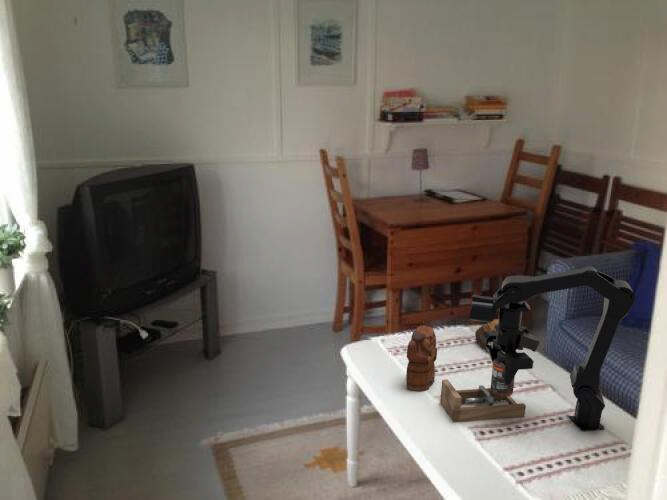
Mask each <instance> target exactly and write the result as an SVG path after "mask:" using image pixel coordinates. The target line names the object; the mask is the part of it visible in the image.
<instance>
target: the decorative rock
mask: <svg viewBox="0 0 667 500" xmlns="http://www.w3.org/2000/svg"><path fill="white" fill-rule="evenodd" d="M495 325H498V318H496V319H493V321H491V323H489V322H486V323H484V324H482V325H480V327H478V328H477V329H476V331H475V335H474V336H475V341H476V342H477V343H478V345H479V346H480V347H481V348H482V349H485V351H487V352H488V350H487V348H486V345H488V344H489V343H488V344H484V343H483V342H482V341H481V340H482V334H483V333H484V332H485V331H496V330H495V329H494V326H495Z"/></svg>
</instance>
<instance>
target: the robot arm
mask: <svg viewBox="0 0 667 500" xmlns="http://www.w3.org/2000/svg"><path fill="white" fill-rule="evenodd" d="M501 284H502V285H501V287H500V288H498V290H497V291H496V292H495V293H494V294H493V297H491V296H486V295H485V296H484V295H483V296H482V295H479V294H473V295H472V297H471V304H470V305H471V306H470V309H469V317H468V318H469V319H468V320H469V321H473V322H474V321H476V322H483V323H488V322H489V323H491V321H493V319H498V325H495V326H494V329H495V330H496V331H485V332H484V333H483V334H482V340H481V341H482V342H483V343H484V344H488V343H489V344H488V345H486V348H487V350H488V351H487V350H486V351H487V353H488V355H489V357H490V360H491V363H492V364H493V361H494V360H495V359H496V358H497V354H498V352H499V351H502V352H503V353H504V354H507V355H506V356H505V361H502V362H501V363H502V368H503V372H504V377H505V381H506V384H511V382H512V380H513V378H514V377H515V376H516V374H517V373H518V371H519V370H533V368H534V360H533V359H532V358H531V356H529V355H528V354H527V353H526V352H518V351H523V350H524V349H526V350H530V351H532V352H533V353H536V352H537V349H538V347H539V345H540V343H541V340H539V339H538V338H537V337H536V336H535V335H534V334H531V333H530V330H529V328H527V327H526V326H521V324H522V318H523V317H522V316H523V312H524V313H530V312H531V307H530V305H529V303H528V302H526V301H528V300H530V299H532V298H534V297H536V296H538V295H540V294H546V293H547V294H548V293H552V292H557V291H564V290H571V289H575V288H580V287H586V286H587V287H590V288H591V289H593V290H594V291H596V292H597V293H598V294H600V295H601V296H602V297H603V298H604V299H603V309H602V311H603V312H602V315H601V317H600V321H599V322H598V325H597V329H596V330H595V333H594V335H593V337H592V340H591V344H590V346H589V349H588V351H587V353H586V356H585V359H584V360H583V362H582V363H581V364H578V363H574V366H573V370H572V372H571V373H570V374H569V379H570V384H571V385H570V386H571V388H572V392H573V395H574V397H575V399H577V400H576V403H575V408H574V409H575V410H574V415H569V417H568V418H569V420H570V421H571V422H572V423H573V424H574V425H575V426H576V427H578V429H579V430H581V431H583V432H586V431H587V432H588V431H602V430H603V431H604V430H605V426H604V425H603V424H602V423H601V421H602V420H601V419H602V414H603V411H604V409H605V407H606V404H605V401H604V397H603V392H602V389H600V381H601V380H600V379H601V372H602V371H601V370H602V367H603V365H604V362H605V360H606V357H607V355H608V352H609V350H610V348H611V345H612V343H613V340H614V337H615V334H617V333H616V332H617V329H618V327H619V325H620V323H621V321H622V320H623V319H624V318H625V317H626V316H627V315H628V314H629V313H630V311H631V310H632V308H633V306H634V304H635V303H636V299H637V298H636V295H635V293H634V290H633V289H632V287H631V286H630V284H629V283H628V282H627V281H625V280H622V279H615V278H613V277H611V276H610V275H608V274H606V273H603V272H601V271H599V270H597V269H596V268H595V267H593V266H591V265H590V266H587V265H586V266H585V267H582V268H577V269H571V270H567V271H561V272H556V273H555V272H554V273H549V274H543V275H537V276H532V275H531V276H529V275H510V276H506V278H505V279H504V280H503V281H502V283H501ZM497 309H499V310H498V311H499V312H498V318H497ZM517 350H518V351H517ZM514 379H515V378H514Z"/></svg>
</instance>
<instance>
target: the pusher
mask: <svg viewBox="0 0 667 500" xmlns="http://www.w3.org/2000/svg"><path fill="white" fill-rule="evenodd" d="M477 389H478V398H465V402H478V403H477V404H478V405H479V406H491V405H493V404H494V402H493V397H492V395H491V394H490V393H489V392H488V391H487V390H486V389H487V388H486V387H485V386H484V385H478V388H477Z"/></svg>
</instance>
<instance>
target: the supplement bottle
mask: <svg viewBox="0 0 667 500" xmlns="http://www.w3.org/2000/svg"><path fill="white" fill-rule="evenodd" d="M506 355H507V354H504V353H503V352H502V351H499V352H498V354H497V358H496V359H495V360H494V361H493V363H492V367H491V381H490V388H491V392H492V393H493V394H496V395H498V396H512V395H513V393H514V388H515V377H514V378H513V380H512V382H511V384H506V381H505V377H504V372H503V368H502V363H501V362H502V361H505V356H506Z"/></svg>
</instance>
